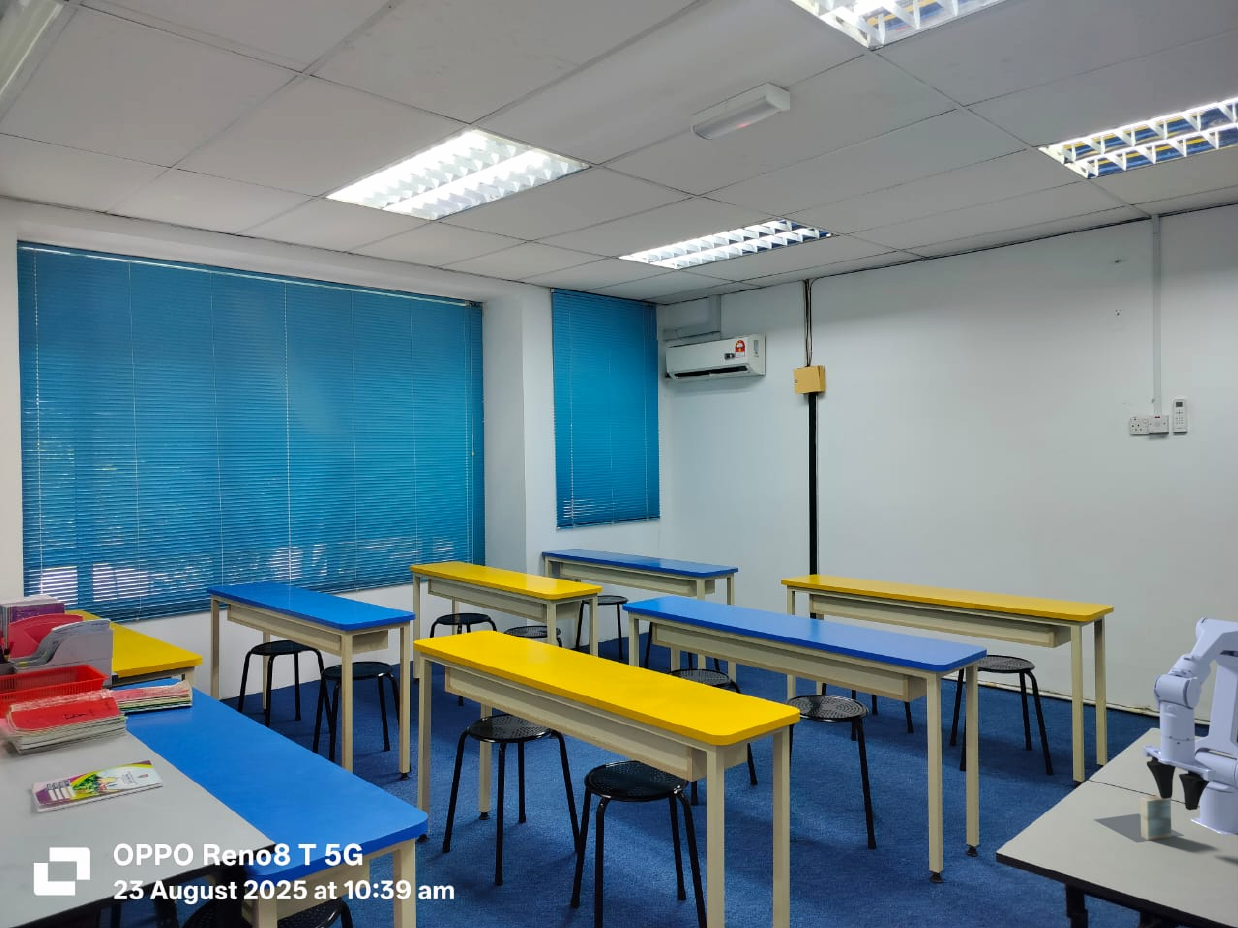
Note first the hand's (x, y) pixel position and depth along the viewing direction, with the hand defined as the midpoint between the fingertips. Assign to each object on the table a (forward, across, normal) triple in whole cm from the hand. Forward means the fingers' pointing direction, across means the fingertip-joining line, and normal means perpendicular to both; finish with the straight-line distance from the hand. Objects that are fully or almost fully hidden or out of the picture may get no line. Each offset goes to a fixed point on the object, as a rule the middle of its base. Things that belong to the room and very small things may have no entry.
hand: (1178, 803), depth 161 cm
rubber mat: (+9, -10, 0) cm, 14 cm away
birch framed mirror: (+9, -5, 0) cm, 10 cm away
